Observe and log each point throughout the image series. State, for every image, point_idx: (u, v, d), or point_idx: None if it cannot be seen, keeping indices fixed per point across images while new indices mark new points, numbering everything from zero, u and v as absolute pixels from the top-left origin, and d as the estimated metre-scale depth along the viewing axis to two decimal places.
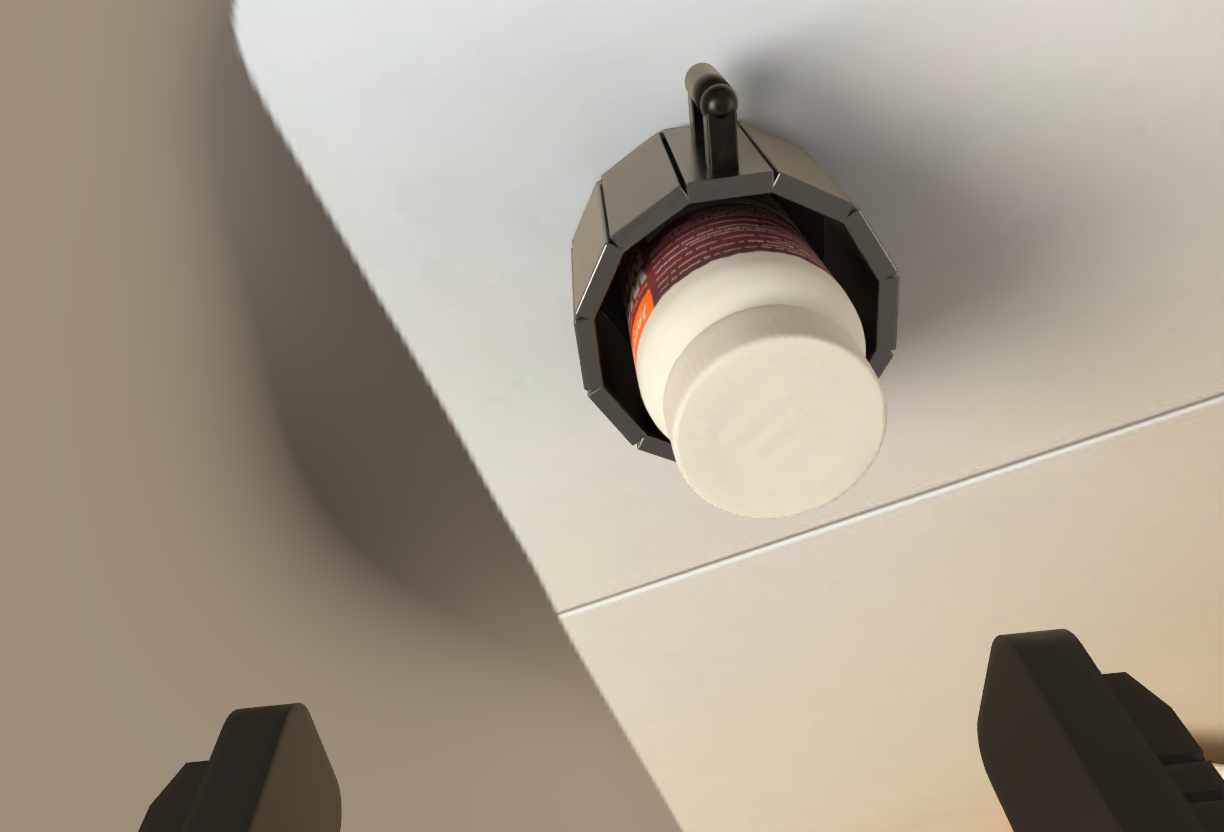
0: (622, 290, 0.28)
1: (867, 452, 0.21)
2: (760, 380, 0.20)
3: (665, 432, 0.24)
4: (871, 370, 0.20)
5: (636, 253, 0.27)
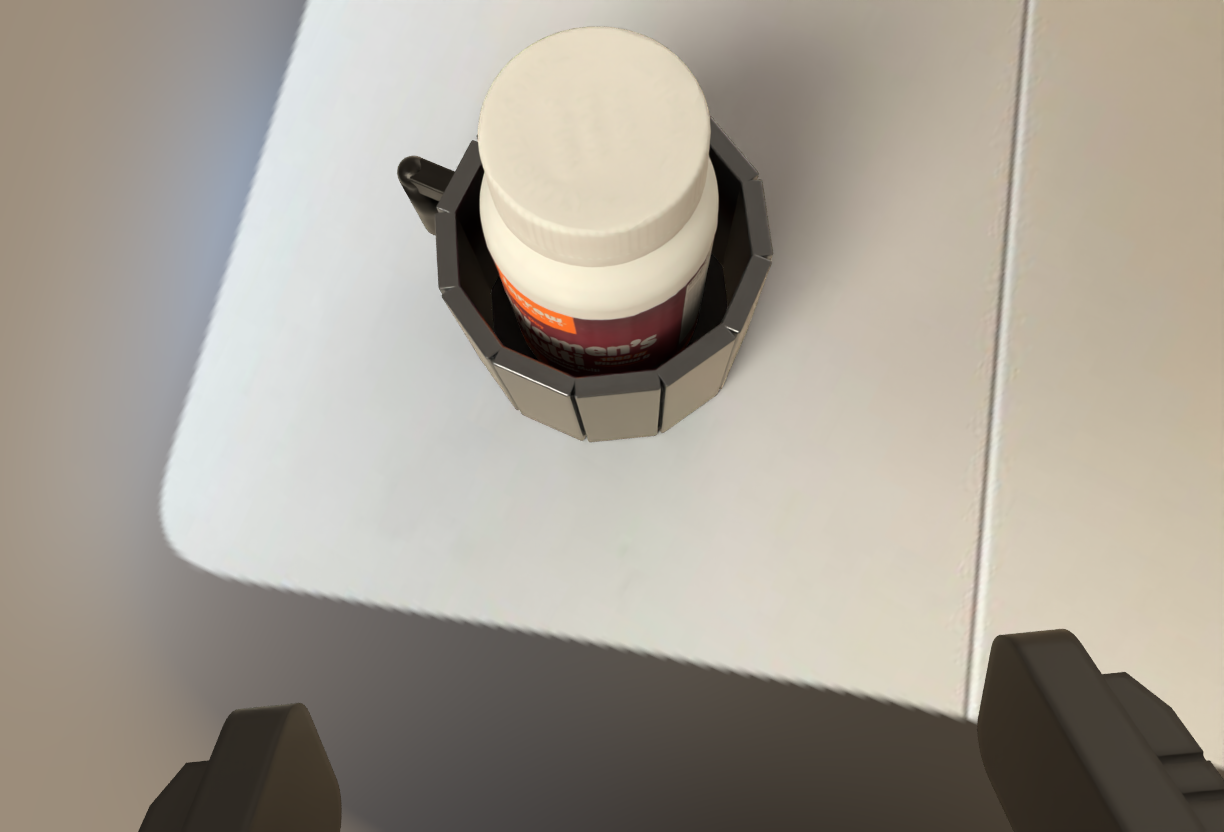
0: (558, 366, 0.27)
1: (666, 61, 0.19)
2: (522, 118, 0.19)
3: (605, 297, 0.21)
4: (577, 28, 0.20)
5: (519, 323, 0.27)
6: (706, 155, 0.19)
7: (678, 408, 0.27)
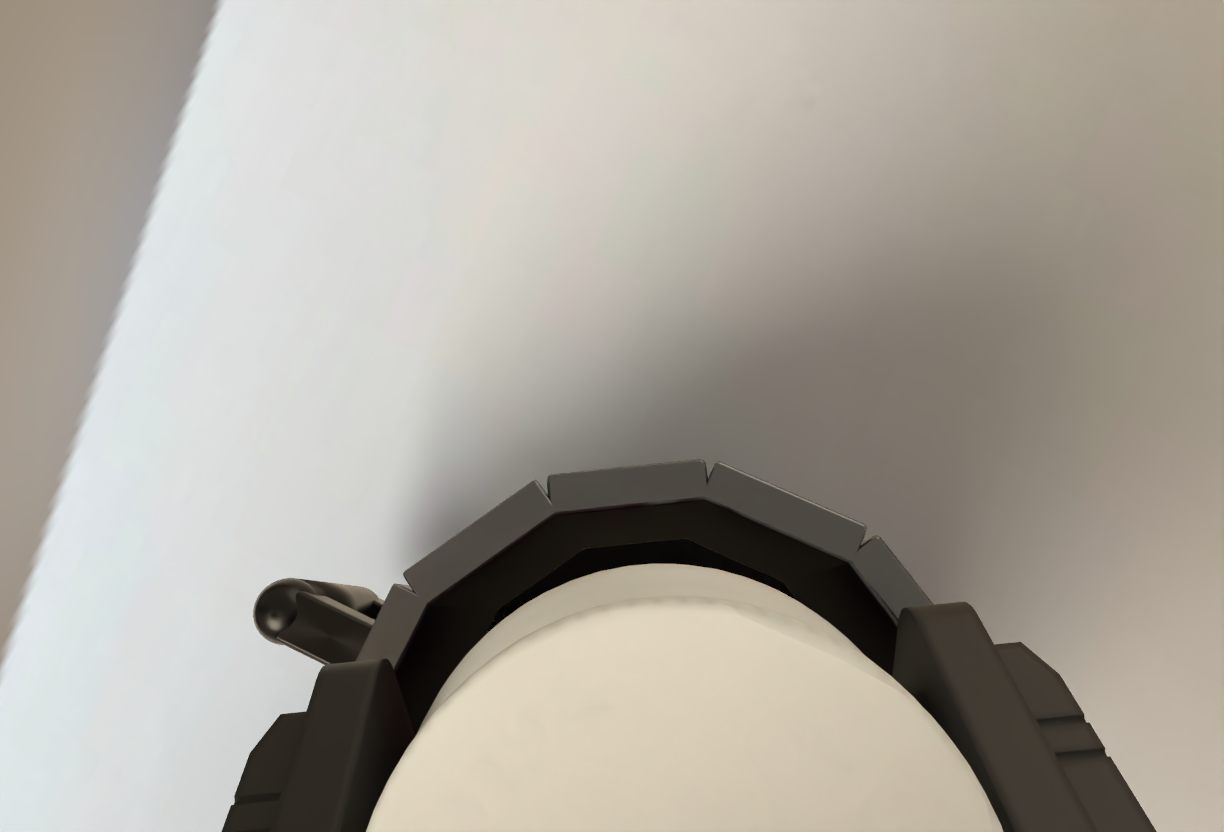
0: None
1: (894, 729, 0.07)
2: None
3: None
4: (632, 603, 0.07)
5: None
6: None
7: None
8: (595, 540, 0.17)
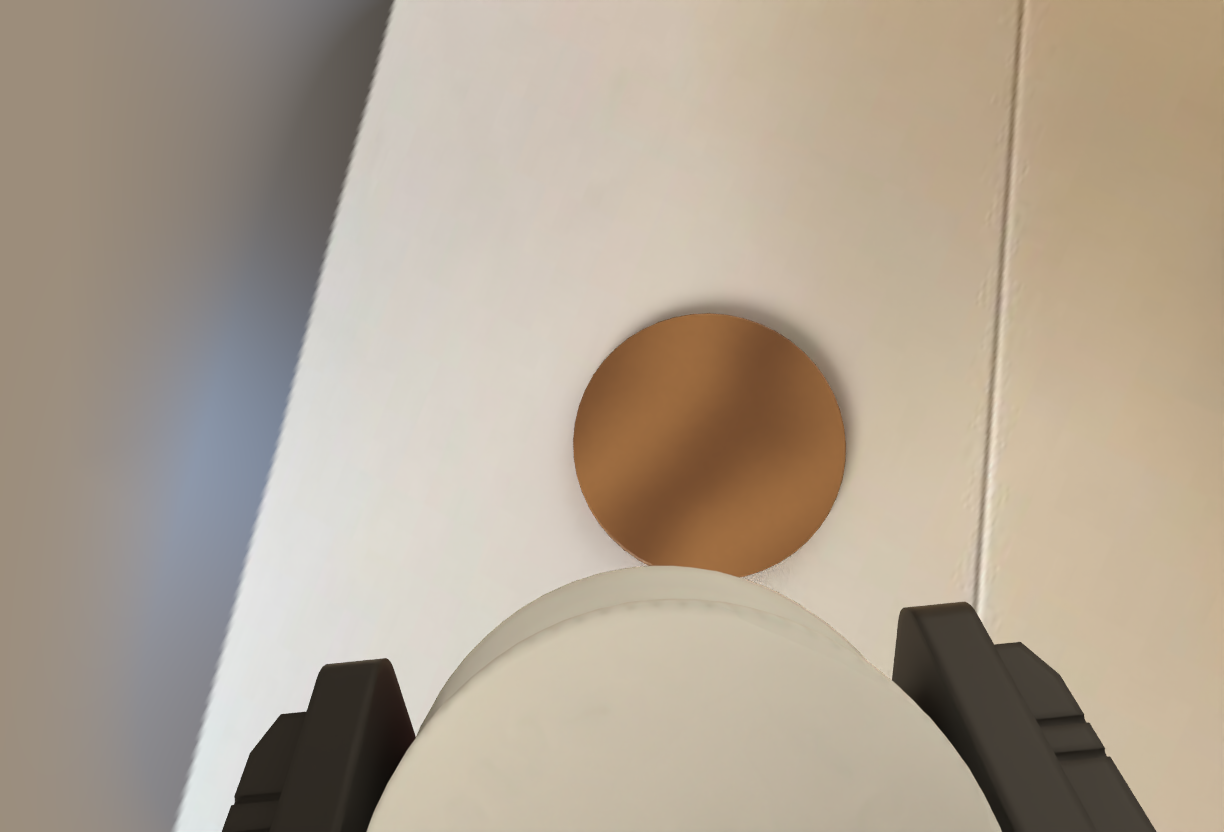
0: None
1: (892, 732, 0.07)
2: None
3: None
4: (631, 606, 0.07)
5: None
6: None
7: None
8: None
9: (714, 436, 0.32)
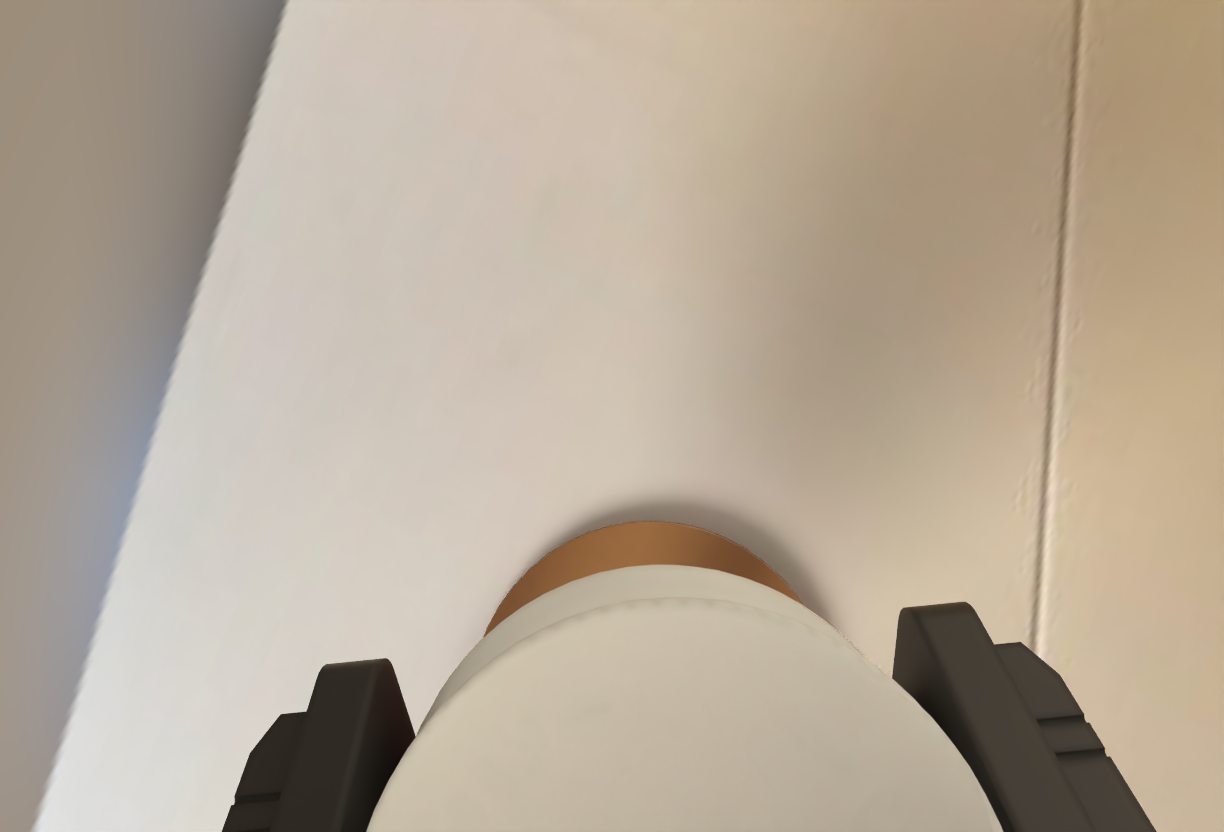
0: None
1: (894, 731, 0.07)
2: None
3: None
4: (632, 604, 0.07)
5: None
6: None
7: None
8: None
9: None
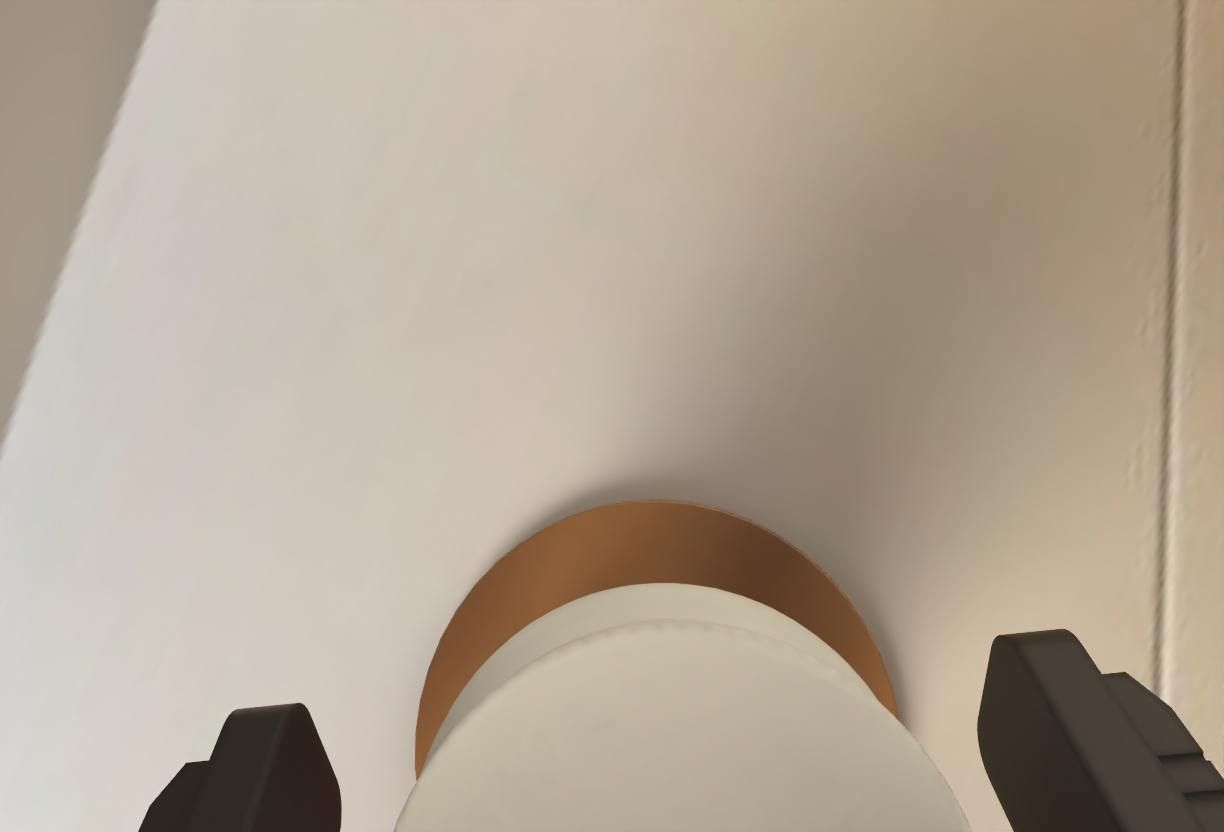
0: None
1: (874, 746, 0.07)
2: None
3: None
4: (634, 629, 0.08)
5: None
6: None
7: None
8: None
9: None
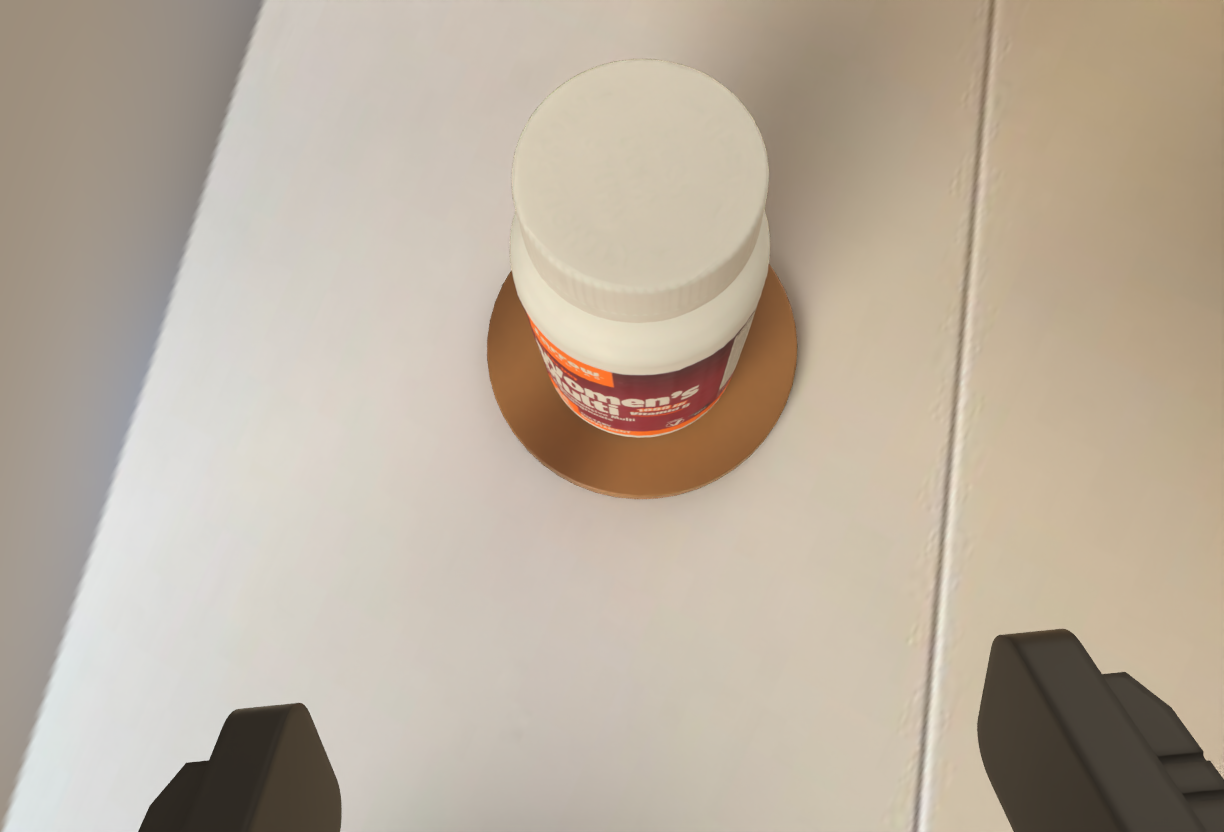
0: (590, 414, 0.25)
1: (719, 97, 0.18)
2: (560, 161, 0.17)
3: (649, 353, 0.19)
4: None
5: (548, 369, 0.25)
6: (765, 202, 0.17)
7: None
8: None
9: None
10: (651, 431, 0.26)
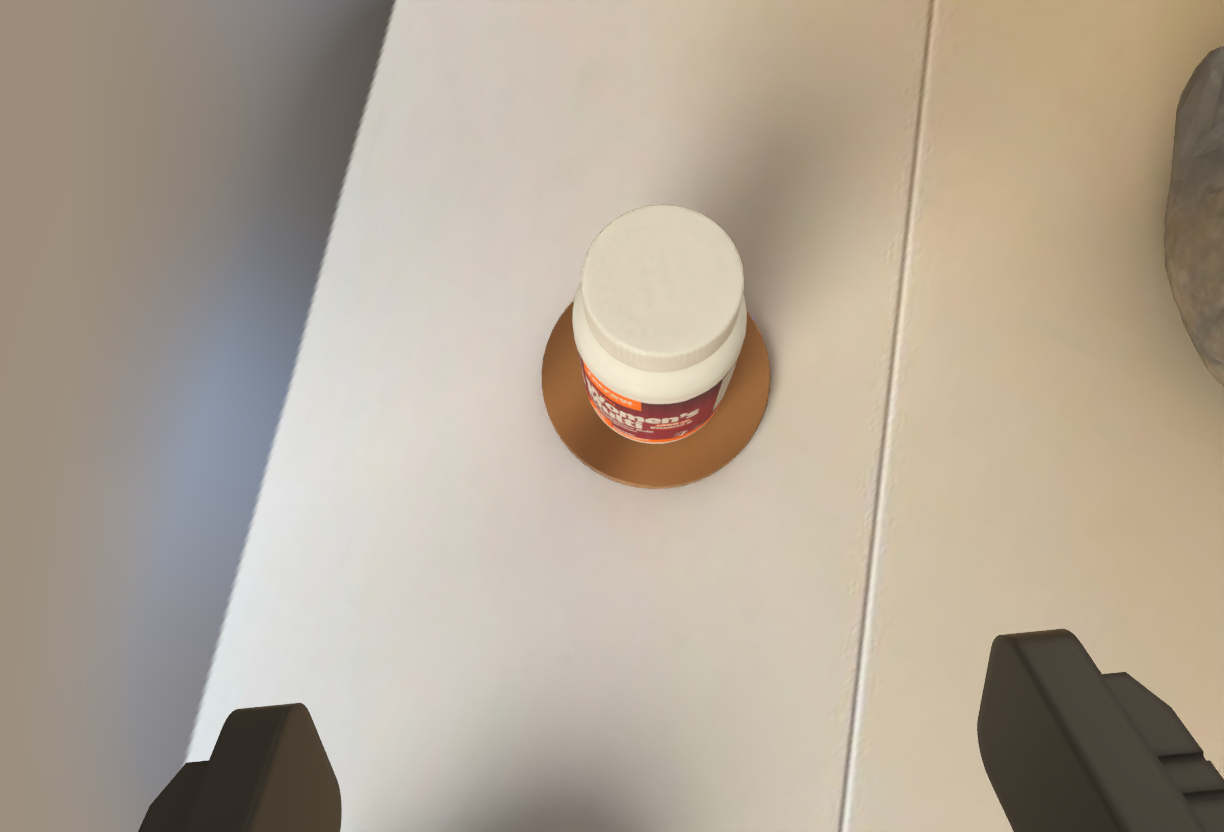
0: (620, 427, 0.36)
1: (713, 231, 0.28)
2: (612, 272, 0.27)
3: (667, 390, 0.29)
4: None
5: (591, 395, 0.35)
6: (741, 298, 0.27)
7: None
8: None
9: None
10: (664, 439, 0.36)
